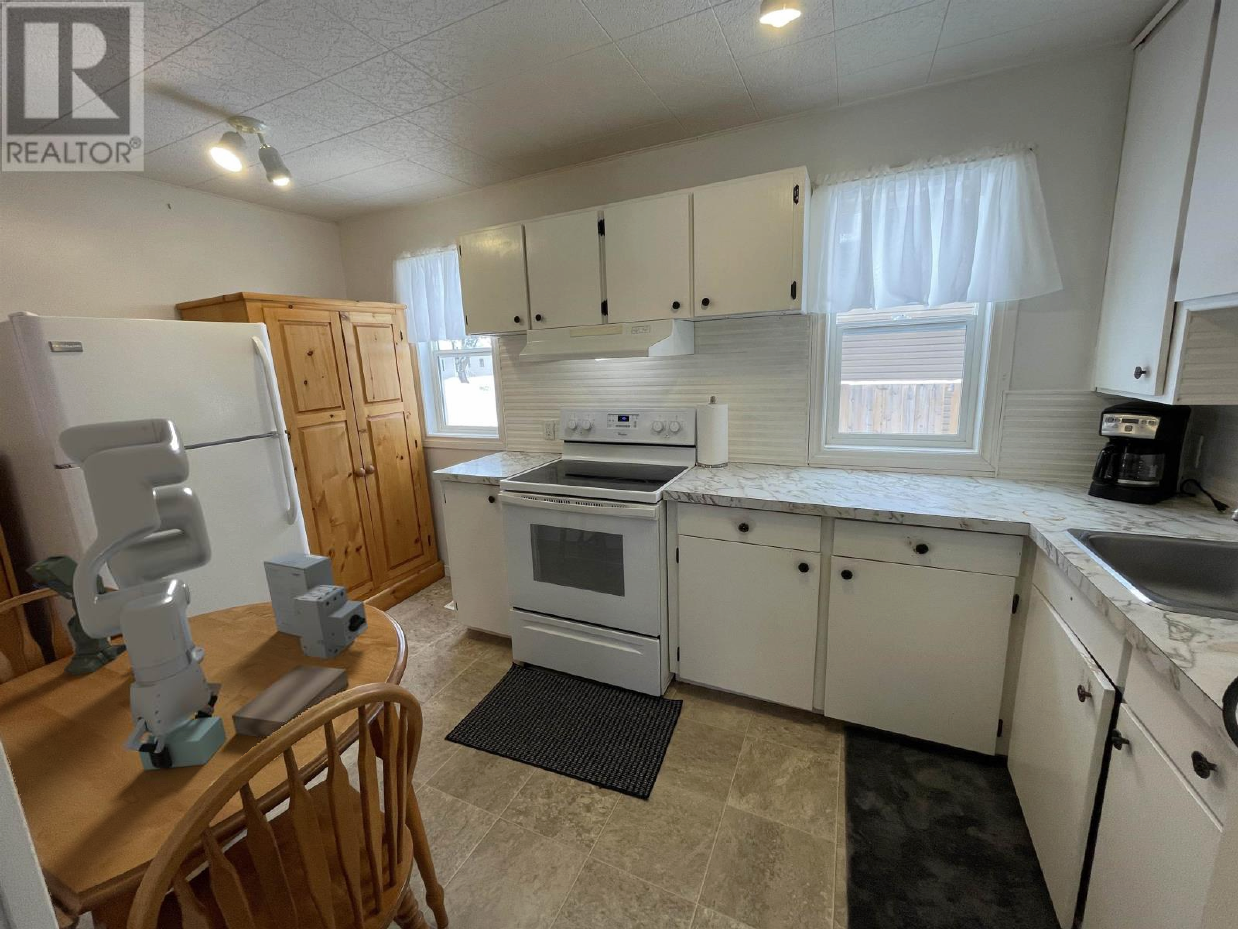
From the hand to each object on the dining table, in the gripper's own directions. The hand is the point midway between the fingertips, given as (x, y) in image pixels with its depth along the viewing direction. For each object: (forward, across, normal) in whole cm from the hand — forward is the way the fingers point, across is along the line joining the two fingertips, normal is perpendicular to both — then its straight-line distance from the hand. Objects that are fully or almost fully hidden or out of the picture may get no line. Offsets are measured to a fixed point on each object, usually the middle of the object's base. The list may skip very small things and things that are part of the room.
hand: (186, 749), depth 92 cm
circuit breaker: (+1, -34, +4) cm, 34 cm away
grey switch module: (+2, -41, -11) cm, 42 cm away
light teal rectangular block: (+1, 0, 0) cm, 1 cm away
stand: (+1, -14, +10) cm, 17 cm away
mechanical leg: (+2, -20, -52) cm, 56 cm away
